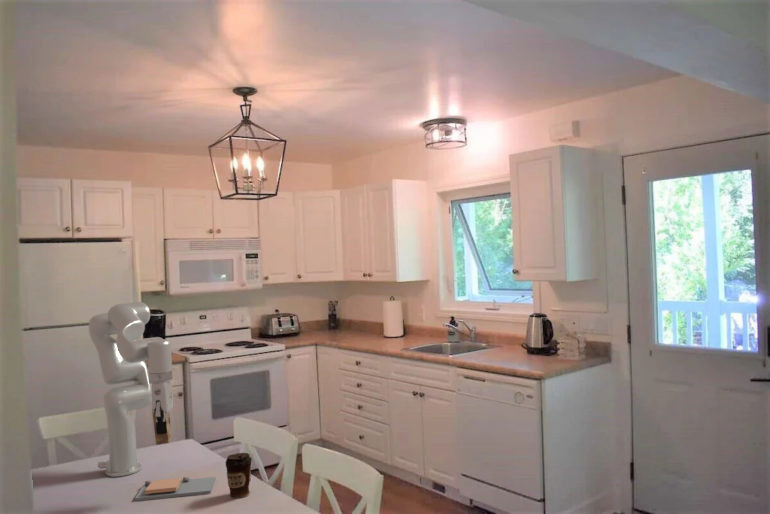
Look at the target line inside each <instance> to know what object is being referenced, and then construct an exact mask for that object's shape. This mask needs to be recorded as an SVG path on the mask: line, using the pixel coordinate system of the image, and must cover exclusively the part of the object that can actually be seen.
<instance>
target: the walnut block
mask: <svg viewBox="0 0 770 514" xmlns="http://www.w3.org/2000/svg"><path fill="white" fill-rule="evenodd" d="M155 410H156V408H155ZM155 410H154V411H155ZM151 411H152V412H151V413H152V414H151V415H152V422H153V429H154V437H155V438H154V439H155V445H156V446H157V445H158V446H159V445H163V444H164V445H165V444H169V443H170V442H171V441H172V435H171V423H170V424H169V417H170V415H169V416H168V412H167V413H166V412H165V421H166V422H167V433H166V434H157V431H156V416H155V414H156V413H153V410H152V409H151ZM160 412H163V410H161V411H160ZM161 415H162V416H163V414H161Z"/></svg>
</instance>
